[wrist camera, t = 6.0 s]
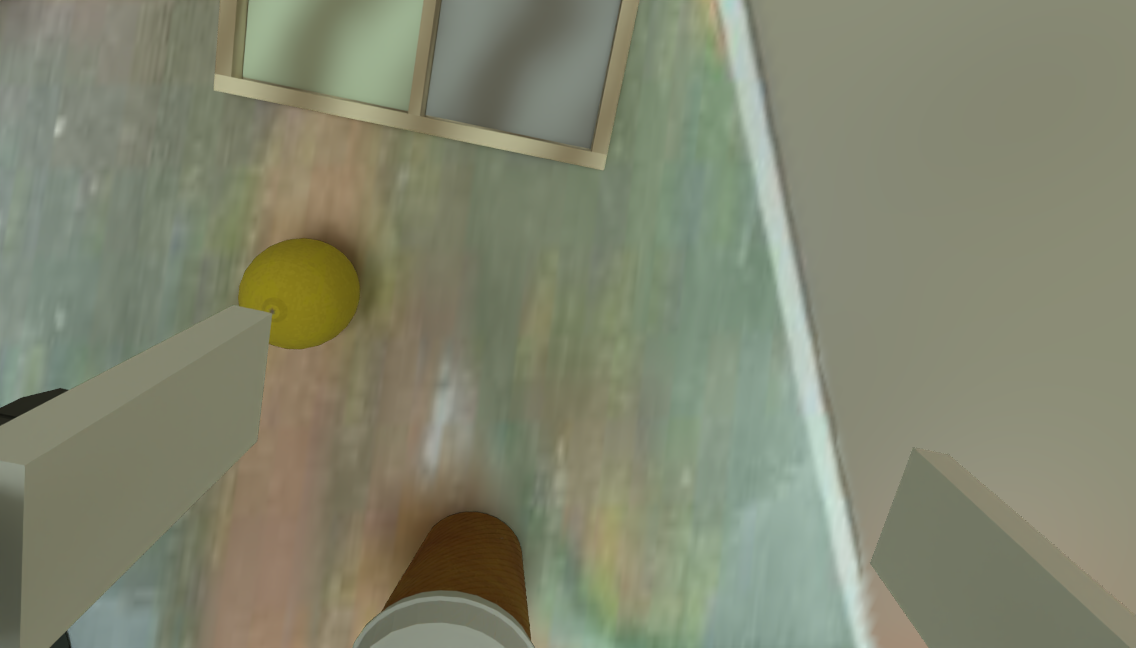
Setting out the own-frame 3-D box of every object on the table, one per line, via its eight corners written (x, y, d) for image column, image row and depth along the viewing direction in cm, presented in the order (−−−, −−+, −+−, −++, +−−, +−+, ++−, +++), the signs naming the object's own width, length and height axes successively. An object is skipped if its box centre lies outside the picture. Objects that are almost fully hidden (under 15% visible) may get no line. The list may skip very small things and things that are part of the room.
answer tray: (233, 92, 38) (213, 90, 36) (253, -160, 35) (232, -179, 33) (601, 168, 40) (603, 170, 37) (651, -71, 36) (657, -84, 34)
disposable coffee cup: (418, 469, 44) (366, 589, 33) (567, 512, 45) (567, 645, 33) (380, 598, 46) (318, 753, 35) (522, 637, 47) (507, 802, 36)
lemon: (377, 326, 42) (334, 370, 34) (281, 323, 42) (216, 367, 34) (373, 230, 40) (328, 254, 33) (274, 227, 40) (204, 250, 33)
